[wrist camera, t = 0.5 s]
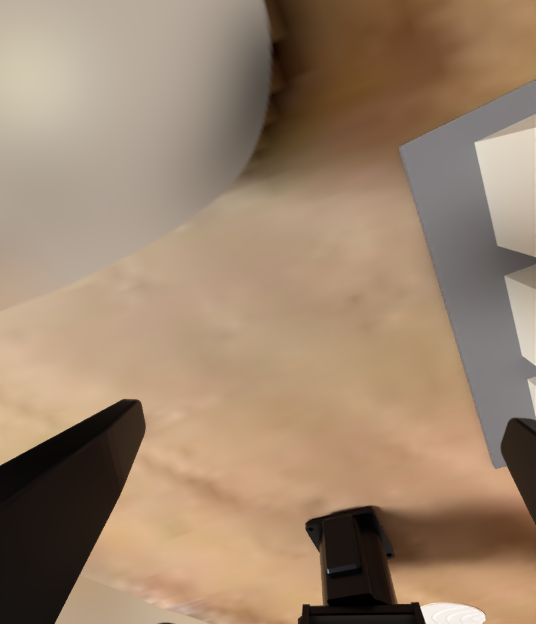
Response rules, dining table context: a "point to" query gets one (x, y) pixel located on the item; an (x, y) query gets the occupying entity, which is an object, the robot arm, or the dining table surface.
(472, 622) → the spoon
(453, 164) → the tap mat
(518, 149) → the digit block 7
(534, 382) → the digit block 1
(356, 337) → the dining table surface
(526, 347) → the blank block
